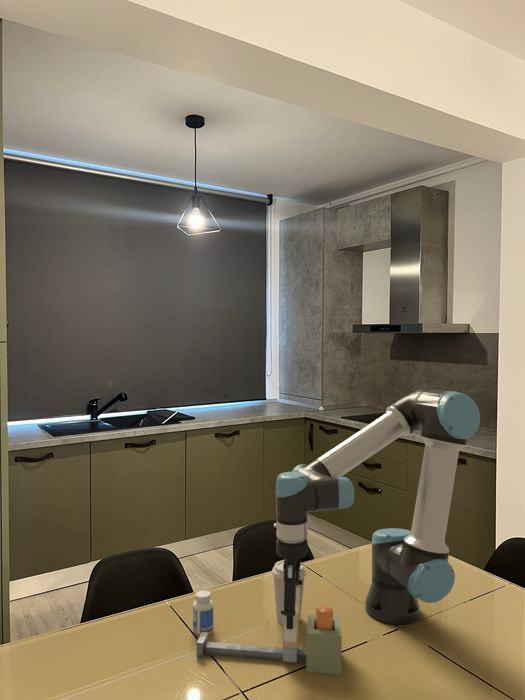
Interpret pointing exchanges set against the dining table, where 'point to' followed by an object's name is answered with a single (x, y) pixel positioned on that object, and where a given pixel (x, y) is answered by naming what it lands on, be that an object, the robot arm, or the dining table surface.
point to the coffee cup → (279, 588)
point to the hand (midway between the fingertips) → (292, 625)
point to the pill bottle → (202, 613)
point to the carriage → (291, 647)
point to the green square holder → (324, 647)
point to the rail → (243, 650)
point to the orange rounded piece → (324, 618)
